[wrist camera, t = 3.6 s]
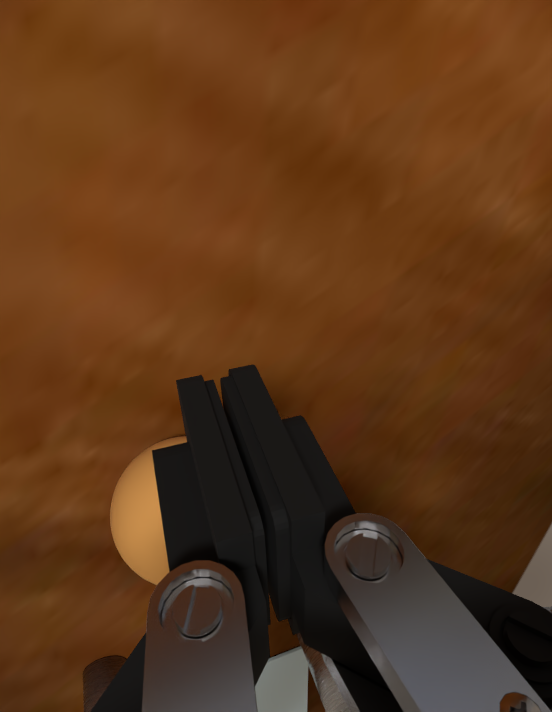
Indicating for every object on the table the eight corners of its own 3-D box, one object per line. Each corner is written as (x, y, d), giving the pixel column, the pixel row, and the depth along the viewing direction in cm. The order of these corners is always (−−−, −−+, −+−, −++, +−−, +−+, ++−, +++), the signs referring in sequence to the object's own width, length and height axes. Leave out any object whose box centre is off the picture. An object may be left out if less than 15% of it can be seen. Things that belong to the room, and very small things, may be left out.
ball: (90, 427, 20) (98, 549, 16) (230, 393, 22) (276, 495, 17) (120, 518, 24) (134, 641, 19) (240, 484, 25) (279, 589, 21)
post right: (284, 592, 33) (344, 749, 26) (320, 579, 33) (388, 728, 26) (285, 612, 34) (342, 766, 27) (319, 599, 35) (384, 746, 28)
